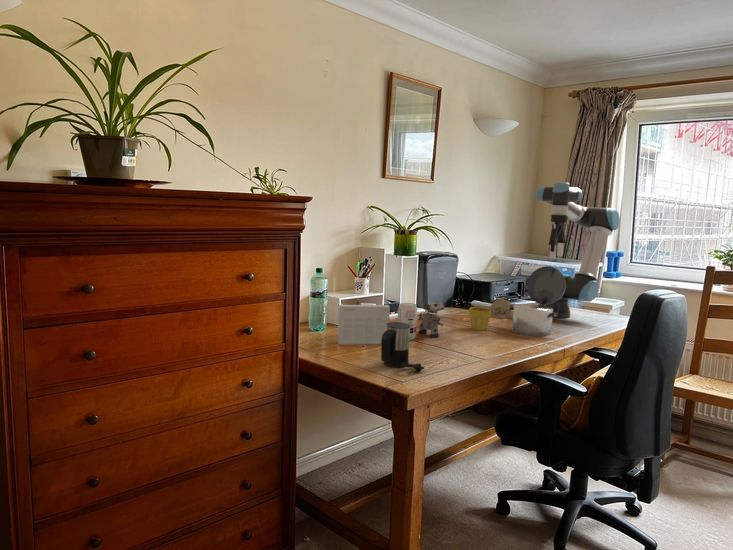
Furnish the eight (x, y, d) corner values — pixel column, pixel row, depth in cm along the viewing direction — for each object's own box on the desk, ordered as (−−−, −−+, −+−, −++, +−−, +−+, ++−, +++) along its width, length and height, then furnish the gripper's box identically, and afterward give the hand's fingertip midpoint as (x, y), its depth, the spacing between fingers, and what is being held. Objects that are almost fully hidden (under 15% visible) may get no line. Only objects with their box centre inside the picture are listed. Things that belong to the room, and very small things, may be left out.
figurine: (447, 335, 251) (450, 303, 249) (428, 338, 244) (430, 304, 242) (434, 331, 258) (436, 299, 256) (415, 334, 251) (417, 301, 250)
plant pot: (490, 332, 262) (491, 311, 261) (467, 330, 264) (469, 309, 263) (489, 327, 272) (491, 307, 271) (468, 325, 274) (469, 306, 273)
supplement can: (405, 334, 249) (407, 301, 247) (419, 338, 243) (421, 304, 241) (392, 337, 243) (394, 303, 241) (407, 341, 237) (409, 306, 235)
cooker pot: (519, 324, 282) (521, 301, 281) (562, 332, 268) (564, 307, 267) (501, 330, 267) (503, 305, 265) (546, 338, 253) (548, 313, 252)
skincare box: (386, 341, 236) (388, 304, 234) (389, 344, 231) (390, 307, 229) (336, 341, 232) (338, 303, 230) (338, 344, 227) (340, 306, 225)
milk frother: (387, 359, 209) (389, 320, 207) (428, 364, 204) (431, 325, 202) (377, 369, 195) (379, 328, 193) (421, 375, 191) (423, 333, 189)
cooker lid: (523, 301, 279) (526, 302, 282) (560, 306, 267) (563, 308, 270) (531, 264, 281) (534, 266, 284) (568, 268, 269) (571, 270, 272)
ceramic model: (485, 316, 301) (486, 297, 300) (492, 313, 310) (494, 295, 309) (510, 320, 293) (512, 301, 292) (517, 316, 303) (519, 298, 301)
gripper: (558, 213, 287) (555, 254, 290) (544, 214, 266) (541, 258, 269) (573, 214, 283) (570, 255, 286) (560, 215, 262) (557, 259, 265)
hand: (556, 257), depth 277 cm, fingers open, 13 cm apart
